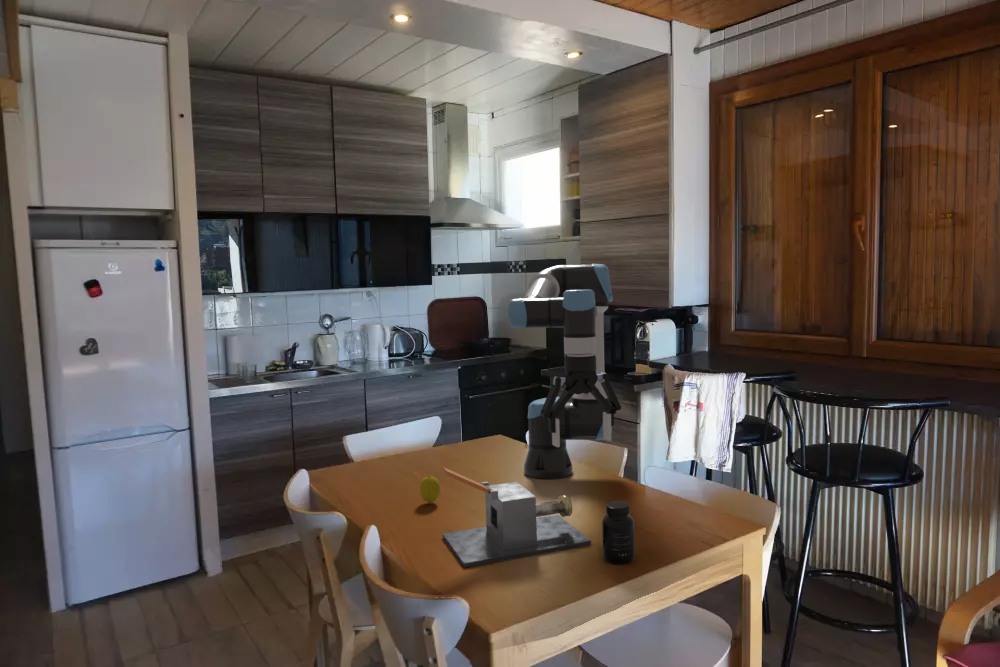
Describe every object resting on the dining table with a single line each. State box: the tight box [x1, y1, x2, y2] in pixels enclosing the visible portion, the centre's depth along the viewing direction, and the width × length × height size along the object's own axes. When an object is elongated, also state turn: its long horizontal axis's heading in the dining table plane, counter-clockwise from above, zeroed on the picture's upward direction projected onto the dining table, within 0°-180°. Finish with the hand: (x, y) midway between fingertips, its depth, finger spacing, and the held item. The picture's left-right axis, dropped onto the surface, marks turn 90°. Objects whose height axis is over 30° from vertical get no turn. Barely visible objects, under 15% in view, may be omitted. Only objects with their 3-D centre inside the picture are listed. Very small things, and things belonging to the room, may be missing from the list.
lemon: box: [419, 474, 441, 505], centre depth 180 cm, size 6×6×8 cm
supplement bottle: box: [601, 500, 636, 566], centre depth 141 cm, size 7×7×12 cm
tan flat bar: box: [440, 466, 492, 494], centre depth 148 cm, size 13×4×1 cm, turn 110°
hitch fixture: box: [442, 481, 592, 569], centre depth 152 cm, size 30×18×14 cm, turn 110°
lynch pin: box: [536, 494, 573, 518], centre depth 154 cm, size 16×5×5 cm, turn 110°
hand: (582, 442), depth 158 cm, fingers open, 13 cm apart
